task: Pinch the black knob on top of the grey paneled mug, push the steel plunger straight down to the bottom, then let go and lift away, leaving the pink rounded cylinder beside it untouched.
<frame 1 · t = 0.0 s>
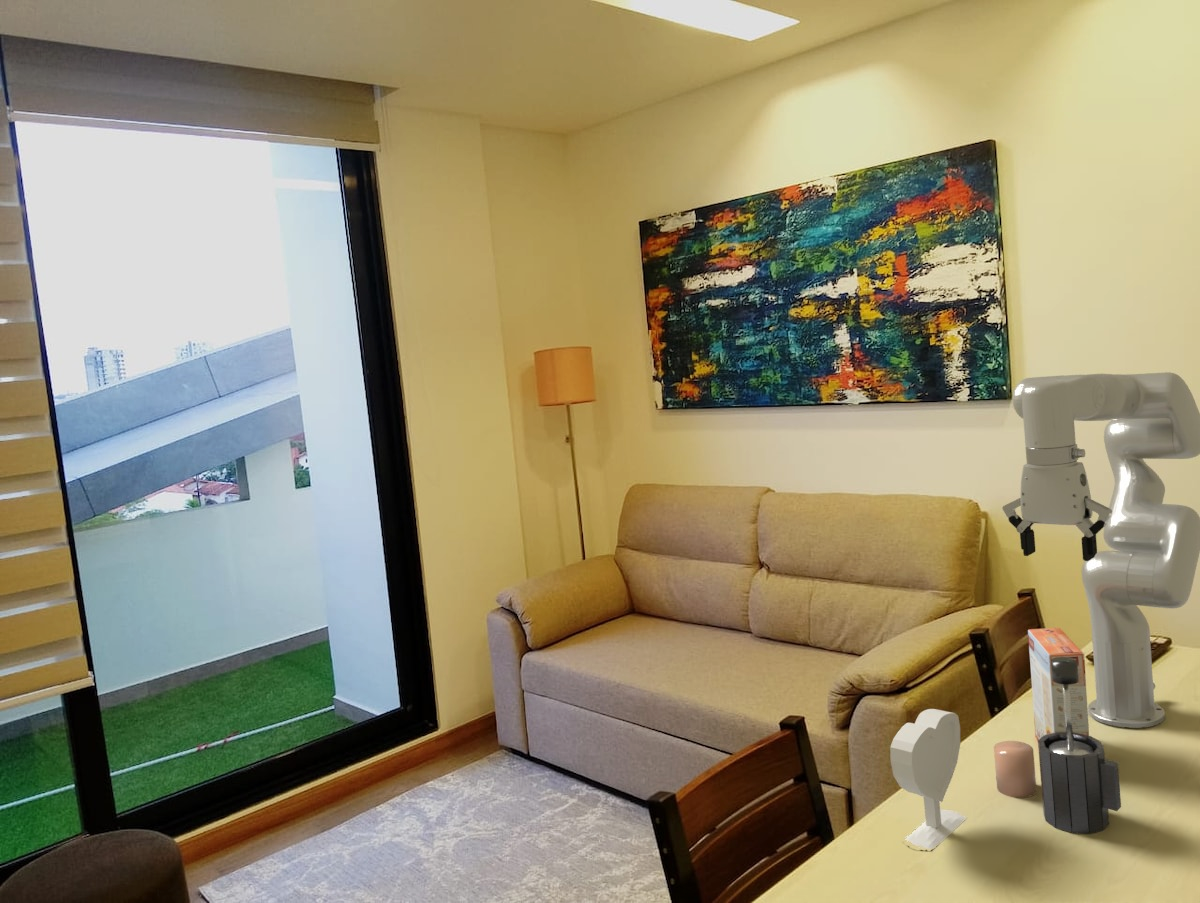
hand: (1058, 556, 155), 37 cm above the table, tool pointing down, fingers open, 9 cm apart
grey paneled mug: (1075, 818, 143), on the table
pink rounded cylinder: (1016, 788, 154), on the table
heart sculpture: (934, 830, 145), on the table
cracker box: (1063, 754, 163), on the table
plunger: (1067, 707, 141), point 18 cm above the table, slide at 0.0 cm
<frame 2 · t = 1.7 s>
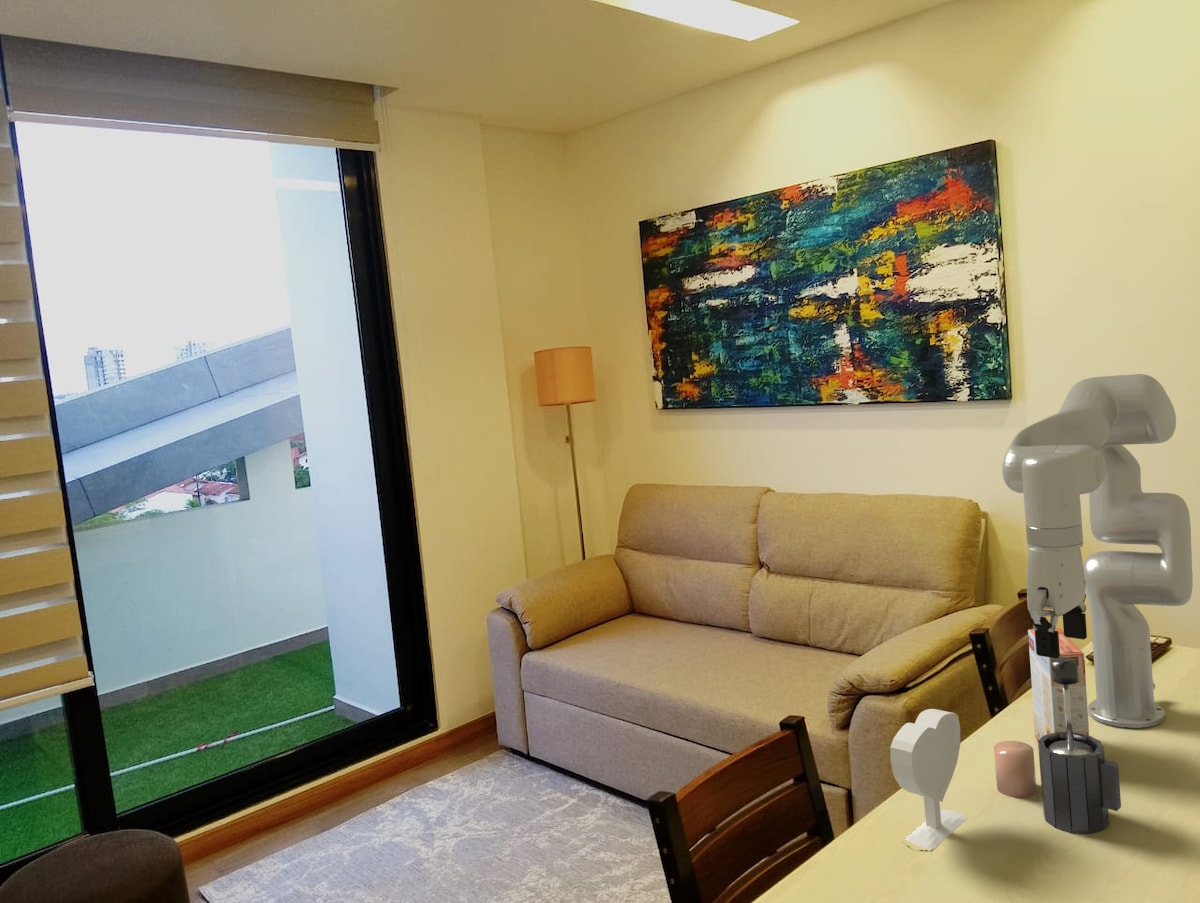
hand: (1062, 646, 139), 28 cm above the table, tool pointing down, fingers open, 9 cm apart
nothing on the table moved.
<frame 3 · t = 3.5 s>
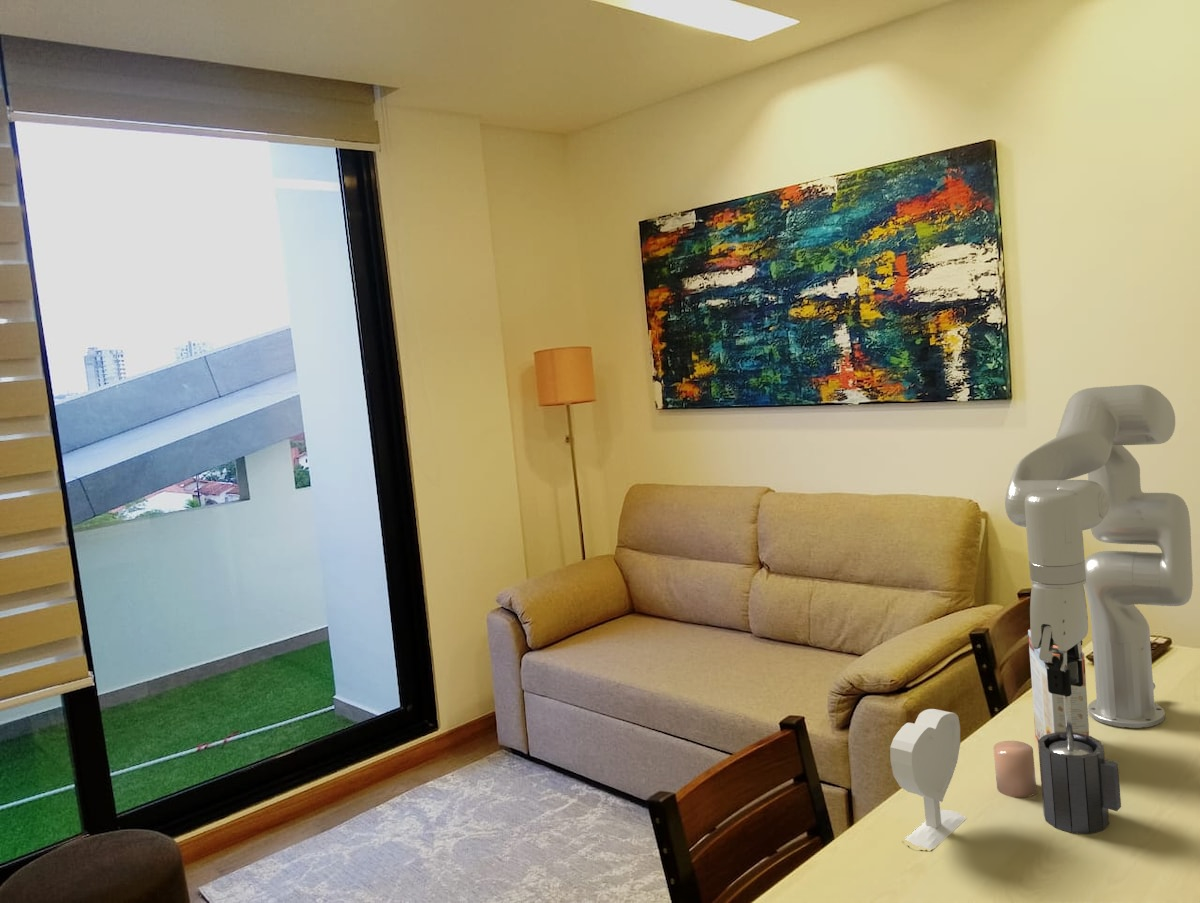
hand: (1066, 688, 141), 21 cm above the table, tool pointing down, fingers closed on plunger, 3 cm apart
plunger: (1067, 707, 141), point 18 cm above the table, slide at 0.0 cm, touching gripper
everything else where it was.
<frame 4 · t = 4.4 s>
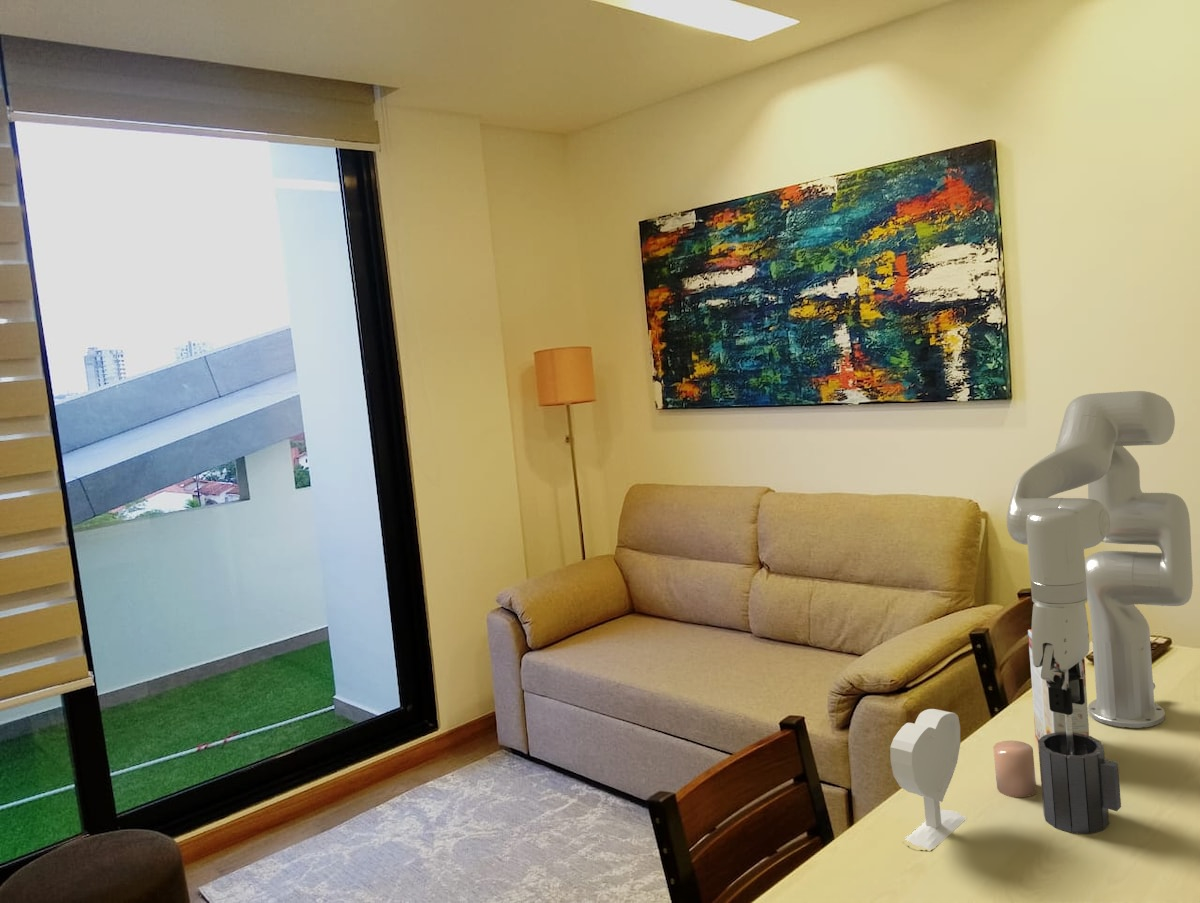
hand: (1067, 706, 141), 18 cm above the table, tool pointing down, fingers closed on plunger, 3 cm apart
plunger: (1068, 725, 141), point 15 cm above the table, slide at 2.9 cm, touching gripper
everything else where it was.
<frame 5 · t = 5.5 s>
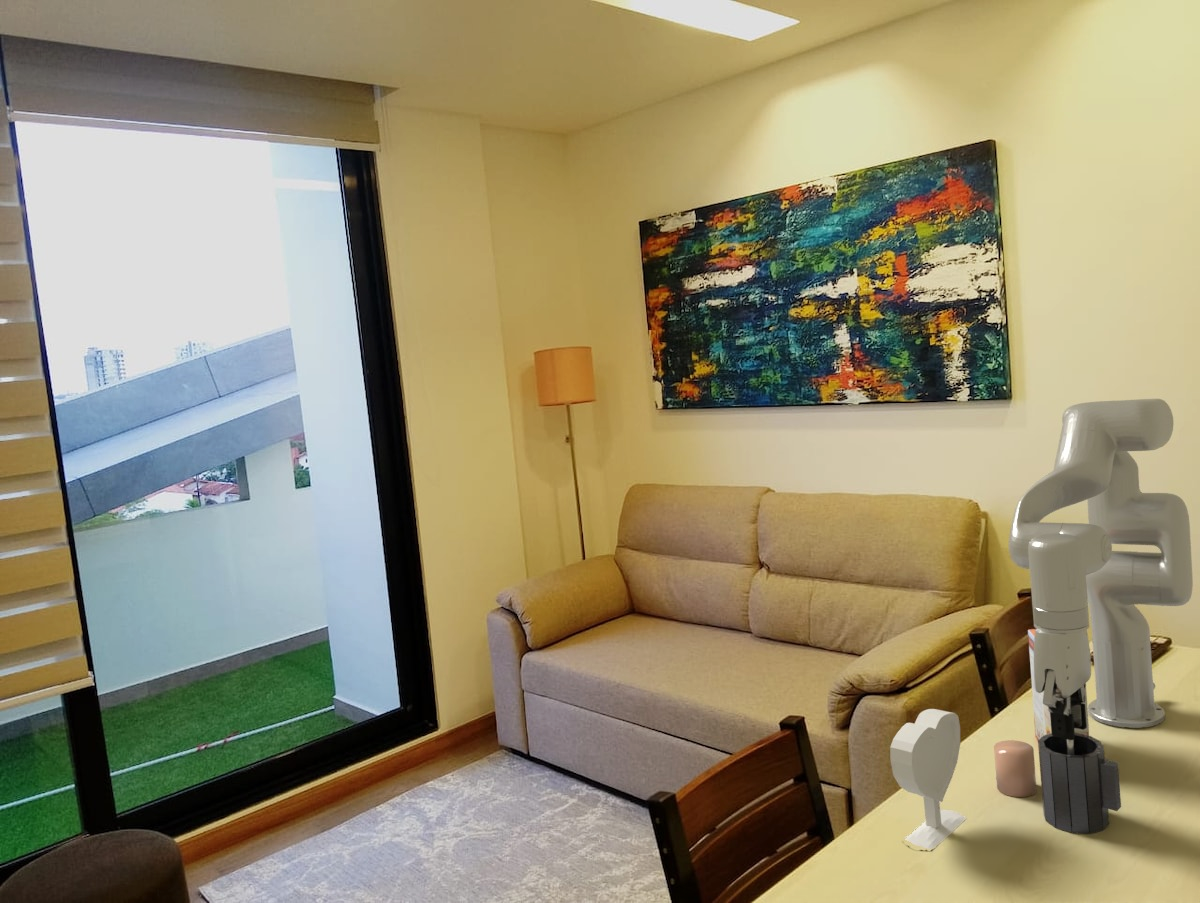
hand: (1069, 731, 141), 14 cm above the table, tool pointing down, fingers closed on plunger, 3 cm apart
plunger: (1070, 750, 142), point 11 cm above the table, slide at 6.9 cm, touching gripper
everything else where it was.
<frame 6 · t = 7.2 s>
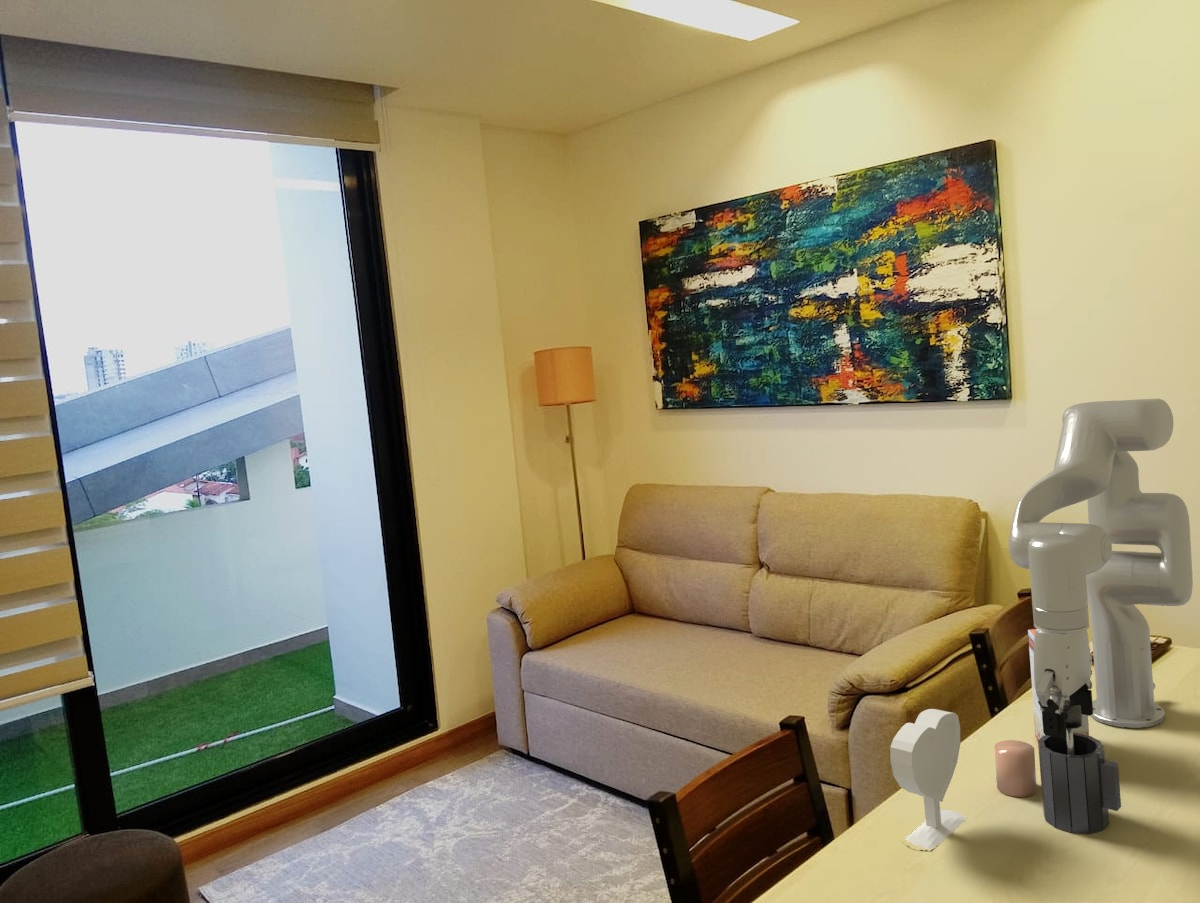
hand: (1068, 724, 141), 15 cm above the table, tool pointing down, fingers open, 9 cm apart
plunger: (1070, 750, 142), point 11 cm above the table, slide at 6.9 cm
everything else where it was.
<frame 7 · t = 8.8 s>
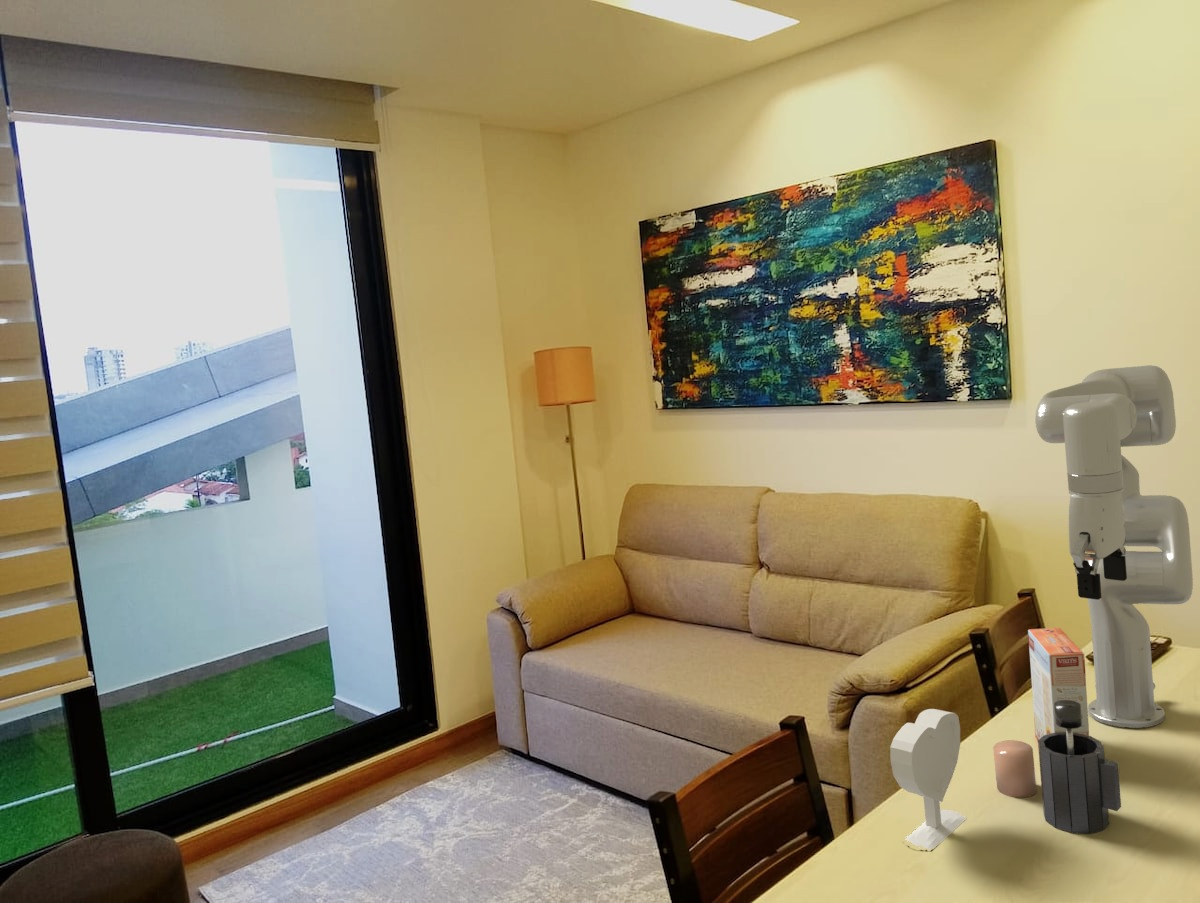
hand: (1103, 588, 145), 34 cm above the table, tool pointing down, fingers open, 9 cm apart
nothing on the table moved.
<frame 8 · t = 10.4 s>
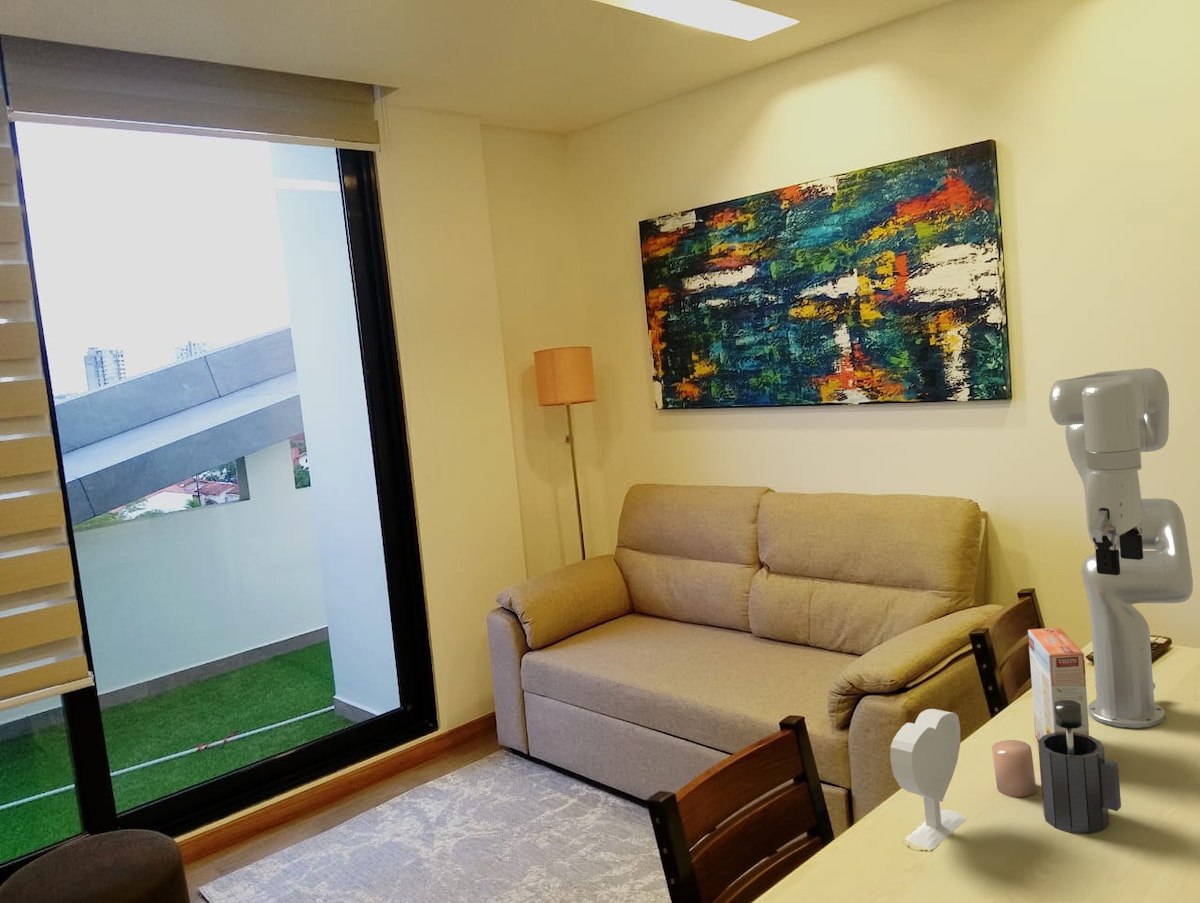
hand: (1120, 566, 147), 36 cm above the table, tool pointing down, fingers open, 9 cm apart
nothing on the table moved.
at the end: plunger slide at 6.9 cm; the gripper is holding nothing; pink rounded cylinder moved 0.1 cm from its start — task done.
